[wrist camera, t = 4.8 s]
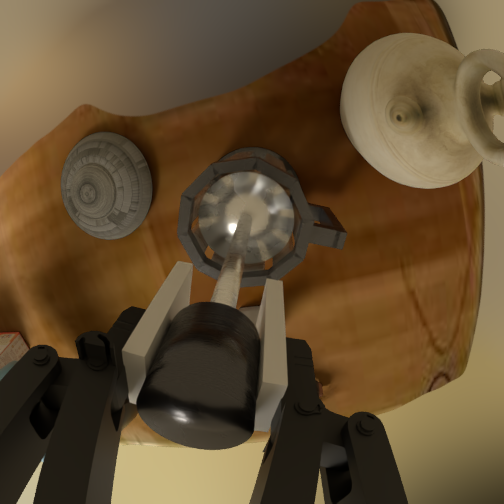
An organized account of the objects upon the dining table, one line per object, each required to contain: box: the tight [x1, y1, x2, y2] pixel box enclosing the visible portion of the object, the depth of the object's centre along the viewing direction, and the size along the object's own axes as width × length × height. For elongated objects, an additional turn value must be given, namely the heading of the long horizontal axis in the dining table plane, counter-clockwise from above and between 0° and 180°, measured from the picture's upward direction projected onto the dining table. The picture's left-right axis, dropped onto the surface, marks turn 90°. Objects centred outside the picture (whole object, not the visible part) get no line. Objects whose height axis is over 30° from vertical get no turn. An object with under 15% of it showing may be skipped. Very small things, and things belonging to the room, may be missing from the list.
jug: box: [340, 33, 504, 188], centre depth 20 cm, size 15×16×25 cm
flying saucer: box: [61, 132, 152, 240], centre depth 35 cm, size 15×15×6 cm
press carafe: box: [177, 147, 347, 287], centre depth 30 cm, size 15×12×13 cm
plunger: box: [136, 171, 294, 450], centre depth 17 cm, size 8×8×21 cm
